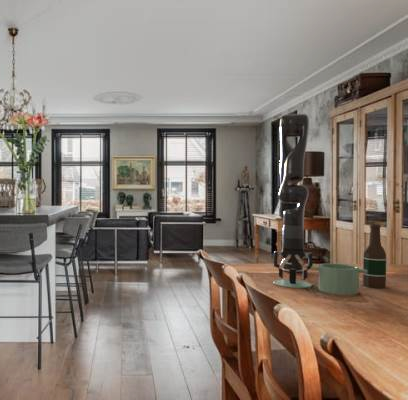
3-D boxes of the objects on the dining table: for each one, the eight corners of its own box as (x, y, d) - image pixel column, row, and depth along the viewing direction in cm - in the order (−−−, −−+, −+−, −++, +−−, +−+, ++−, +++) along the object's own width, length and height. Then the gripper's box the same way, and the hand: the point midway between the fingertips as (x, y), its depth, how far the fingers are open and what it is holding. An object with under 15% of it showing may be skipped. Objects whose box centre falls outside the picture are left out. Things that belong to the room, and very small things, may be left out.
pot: (309, 287, 168) (309, 262, 168) (362, 290, 162) (363, 265, 162) (312, 294, 156) (313, 267, 156) (370, 298, 150) (370, 270, 150)
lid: (273, 281, 178) (273, 265, 178) (310, 283, 174) (310, 267, 174) (274, 288, 165) (274, 270, 165) (313, 291, 161) (313, 273, 161)
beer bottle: (378, 289, 164) (379, 225, 164) (358, 285, 171) (359, 224, 171) (390, 287, 168) (391, 224, 168) (370, 283, 175) (371, 223, 175)
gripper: (312, 236, 170) (311, 278, 170) (273, 235, 175) (272, 276, 175) (314, 238, 163) (313, 282, 163) (273, 236, 168) (273, 279, 168)
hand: (292, 278), depth 169 cm, fingers open, 7 cm apart
